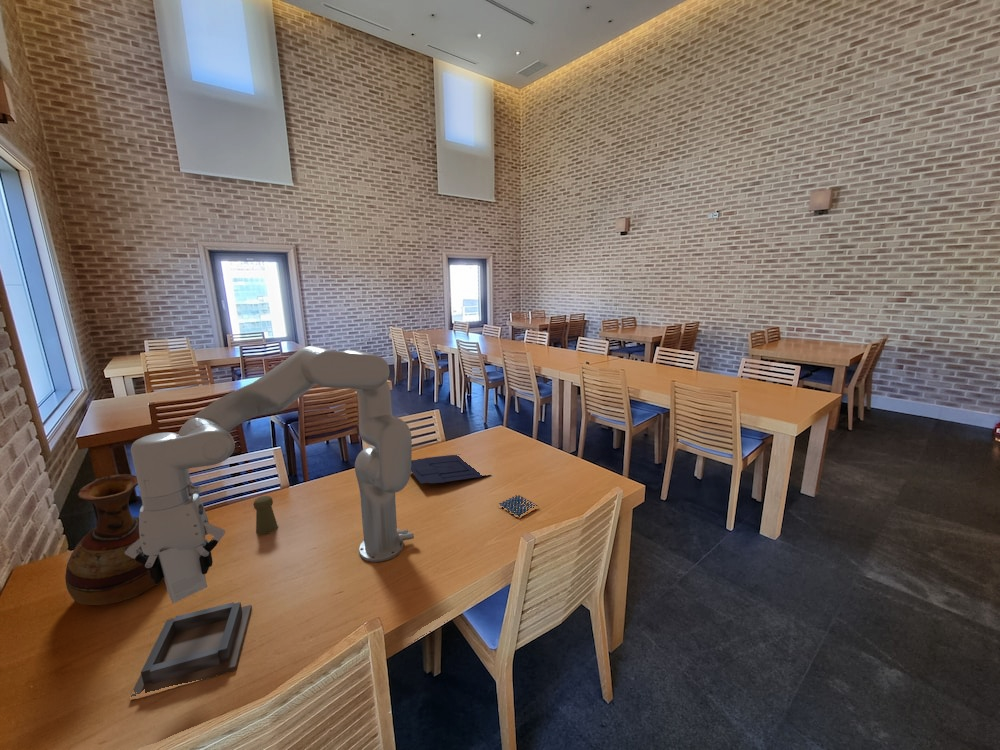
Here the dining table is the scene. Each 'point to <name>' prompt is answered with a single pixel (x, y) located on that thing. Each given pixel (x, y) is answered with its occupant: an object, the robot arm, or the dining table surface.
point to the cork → (264, 516)
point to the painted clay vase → (108, 547)
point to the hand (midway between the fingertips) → (183, 574)
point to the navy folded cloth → (442, 469)
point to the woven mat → (516, 505)
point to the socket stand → (195, 647)
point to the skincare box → (182, 572)
